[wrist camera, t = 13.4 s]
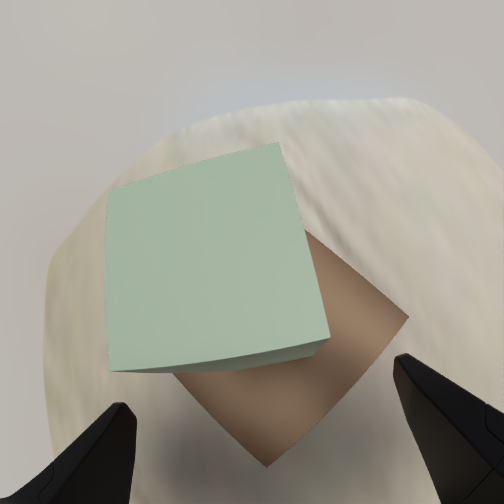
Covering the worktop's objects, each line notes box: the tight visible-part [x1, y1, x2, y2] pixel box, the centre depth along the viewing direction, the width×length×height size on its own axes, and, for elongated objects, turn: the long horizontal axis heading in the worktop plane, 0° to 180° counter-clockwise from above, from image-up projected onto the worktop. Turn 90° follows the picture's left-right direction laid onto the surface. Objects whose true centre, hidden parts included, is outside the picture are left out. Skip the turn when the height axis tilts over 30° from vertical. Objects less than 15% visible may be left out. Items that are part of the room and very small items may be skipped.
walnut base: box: [173, 229, 409, 467], centre depth 19 cm, size 12×12×3 cm
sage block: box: [105, 142, 331, 373], centre depth 12 cm, size 4×4×12 cm
